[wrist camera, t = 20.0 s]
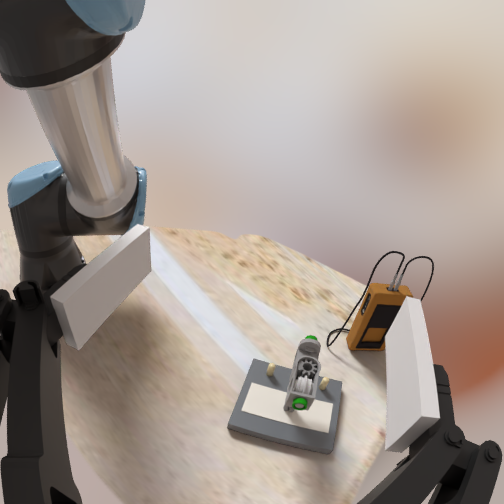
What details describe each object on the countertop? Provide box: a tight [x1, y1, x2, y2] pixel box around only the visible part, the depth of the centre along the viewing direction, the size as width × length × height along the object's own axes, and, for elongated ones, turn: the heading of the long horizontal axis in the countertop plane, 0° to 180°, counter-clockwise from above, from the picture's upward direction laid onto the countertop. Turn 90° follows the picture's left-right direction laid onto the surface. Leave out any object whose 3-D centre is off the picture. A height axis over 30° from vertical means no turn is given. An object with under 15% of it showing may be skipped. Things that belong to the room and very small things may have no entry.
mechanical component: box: [283, 335, 321, 412], centre depth 36 cm, size 3×10×10 cm, turn 166°
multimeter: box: [327, 251, 434, 351], centre depth 50 cm, size 15×10×20 cm
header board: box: [227, 359, 342, 454], centre depth 40 cm, size 14×12×4 cm
